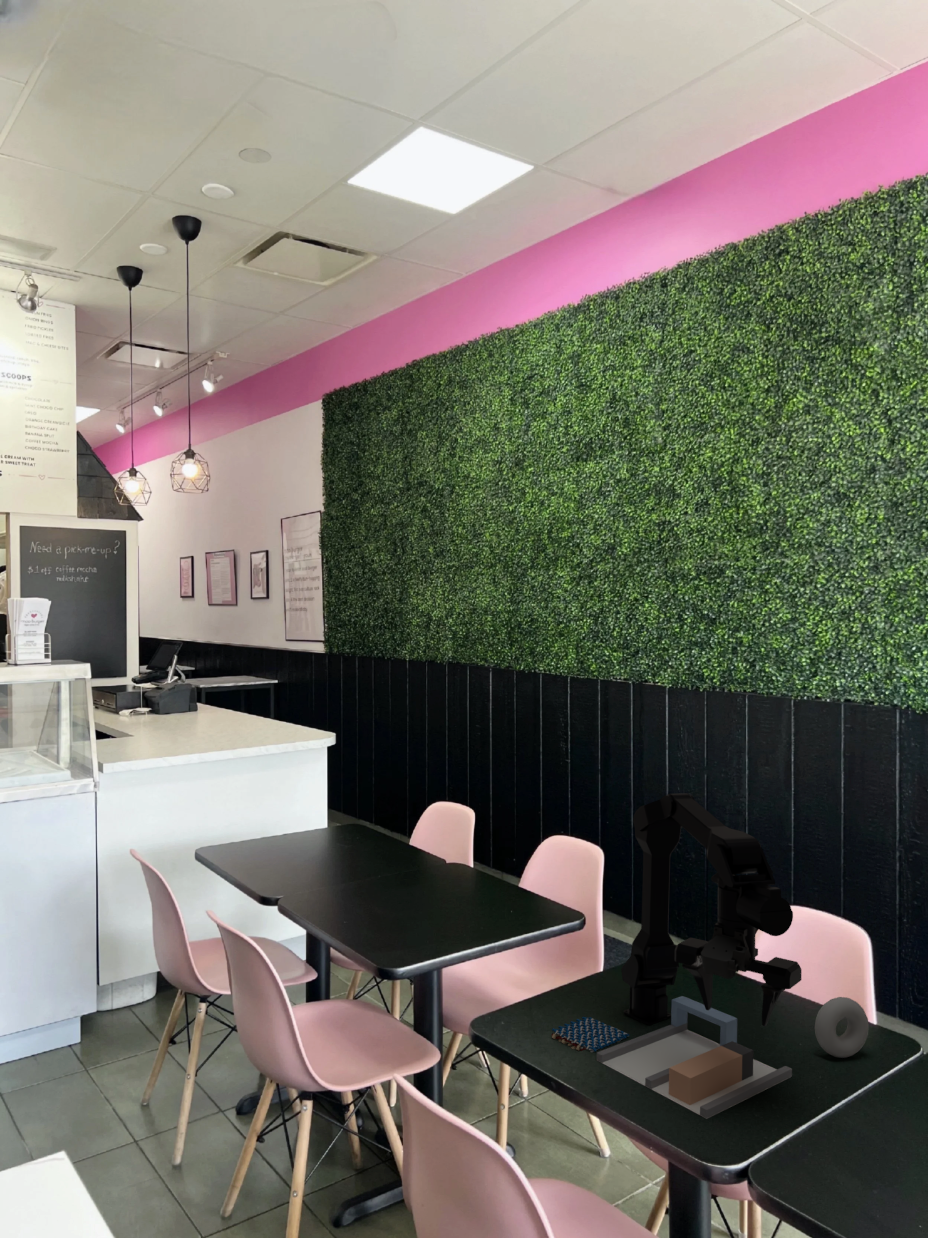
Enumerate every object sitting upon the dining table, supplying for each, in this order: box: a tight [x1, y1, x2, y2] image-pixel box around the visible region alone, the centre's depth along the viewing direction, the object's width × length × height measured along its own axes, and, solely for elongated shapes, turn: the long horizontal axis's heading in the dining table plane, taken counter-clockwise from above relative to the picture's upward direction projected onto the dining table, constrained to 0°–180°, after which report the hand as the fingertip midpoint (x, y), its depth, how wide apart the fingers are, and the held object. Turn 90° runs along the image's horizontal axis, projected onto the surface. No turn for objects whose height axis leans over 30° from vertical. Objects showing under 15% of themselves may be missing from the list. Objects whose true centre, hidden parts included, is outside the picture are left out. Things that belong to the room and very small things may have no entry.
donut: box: [814, 996, 870, 1059], centre depth 153 cm, size 10×4×10 cm, turn 106°
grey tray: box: [596, 995, 793, 1120], centre depth 146 cm, size 22×22×6 cm
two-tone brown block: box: [669, 1041, 754, 1105], centre depth 140 cm, size 4×16×4 cm, turn 128°
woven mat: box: [551, 1016, 630, 1053], centre depth 157 cm, size 10×11×2 cm
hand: (735, 1017), depth 141 cm, fingers open, 9 cm apart
